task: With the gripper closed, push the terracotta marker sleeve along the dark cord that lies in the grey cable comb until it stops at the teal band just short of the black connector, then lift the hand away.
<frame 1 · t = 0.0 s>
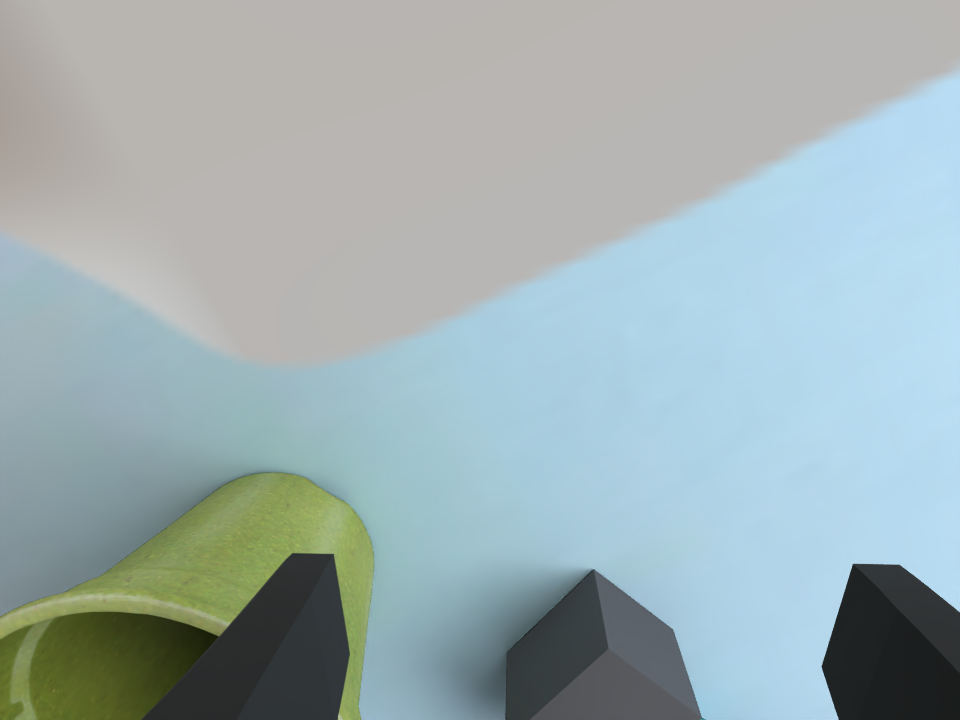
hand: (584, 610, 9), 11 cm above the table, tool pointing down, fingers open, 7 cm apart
plant pot: (289, 548, 22), on the table
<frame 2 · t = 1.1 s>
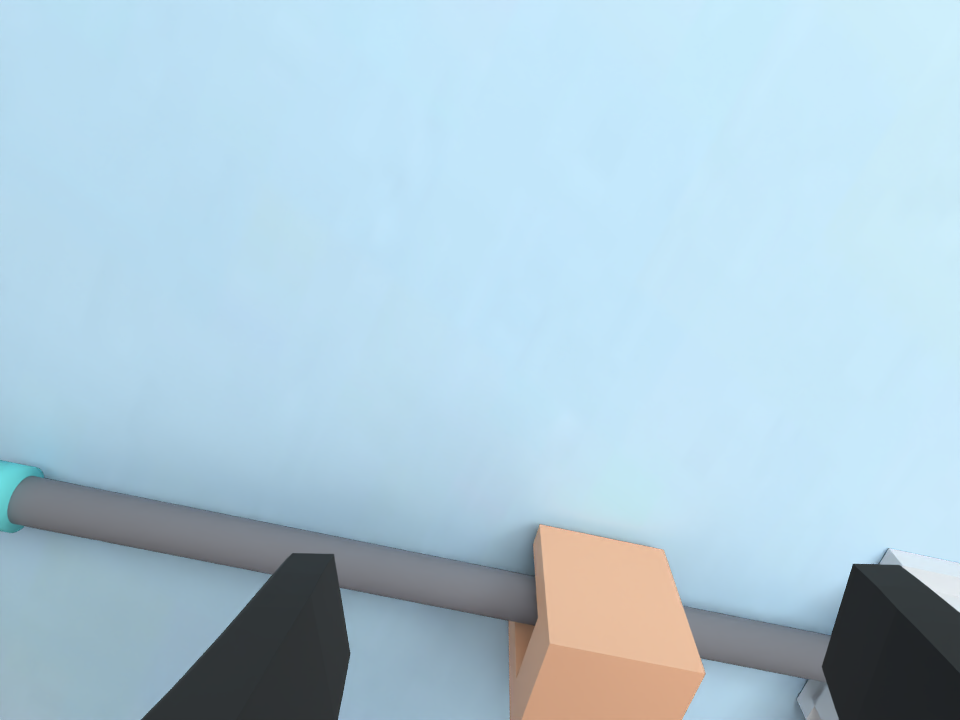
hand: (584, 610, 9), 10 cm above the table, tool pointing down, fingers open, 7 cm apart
sleeve: (592, 642, 19), point 3 cm above the table, slide at -9.0 cm
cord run: (310, 522, 21), on the table
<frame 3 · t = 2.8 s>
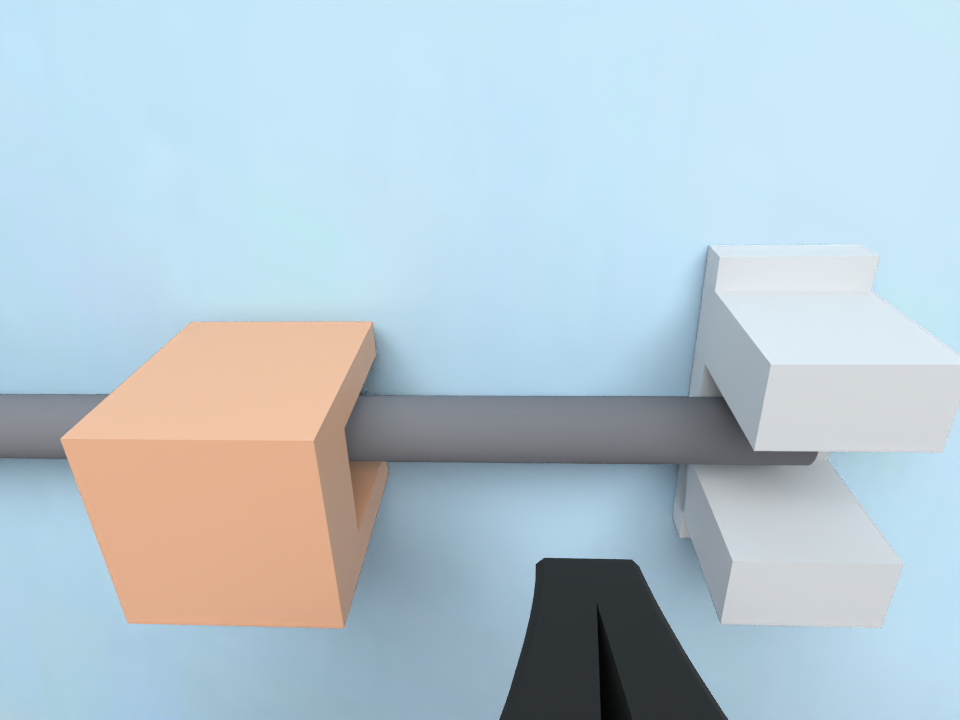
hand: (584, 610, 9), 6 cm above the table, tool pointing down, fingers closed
sleeve: (260, 460, 13), point 3 cm above the table, slide at -9.0 cm
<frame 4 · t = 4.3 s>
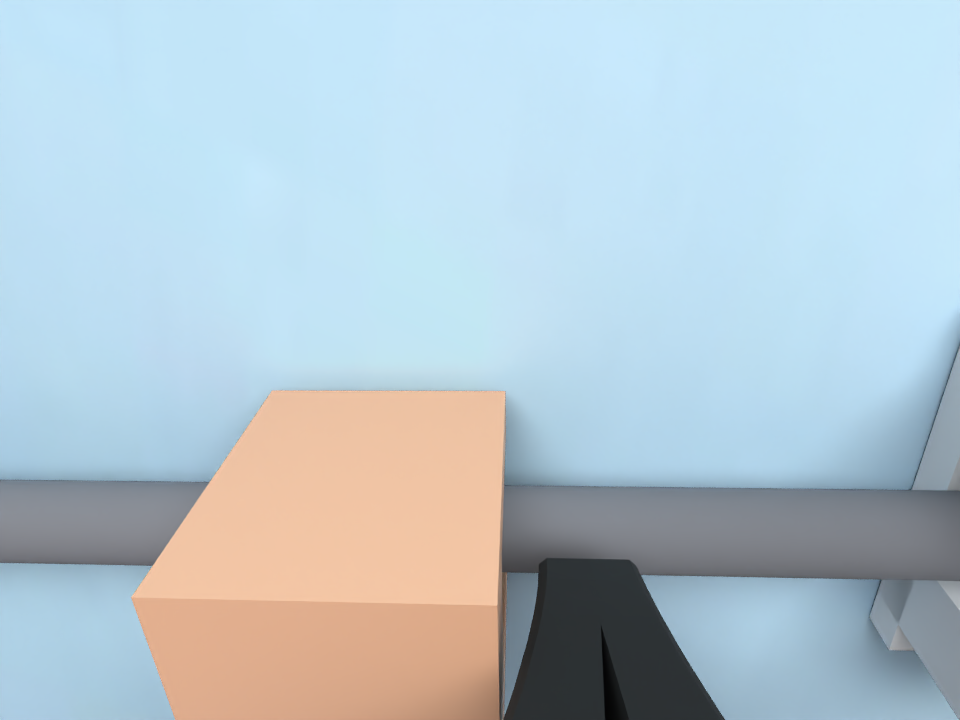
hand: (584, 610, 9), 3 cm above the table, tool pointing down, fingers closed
sleeve: (372, 579, 10), point 3 cm above the table, slide at -8.6 cm, touching gripper
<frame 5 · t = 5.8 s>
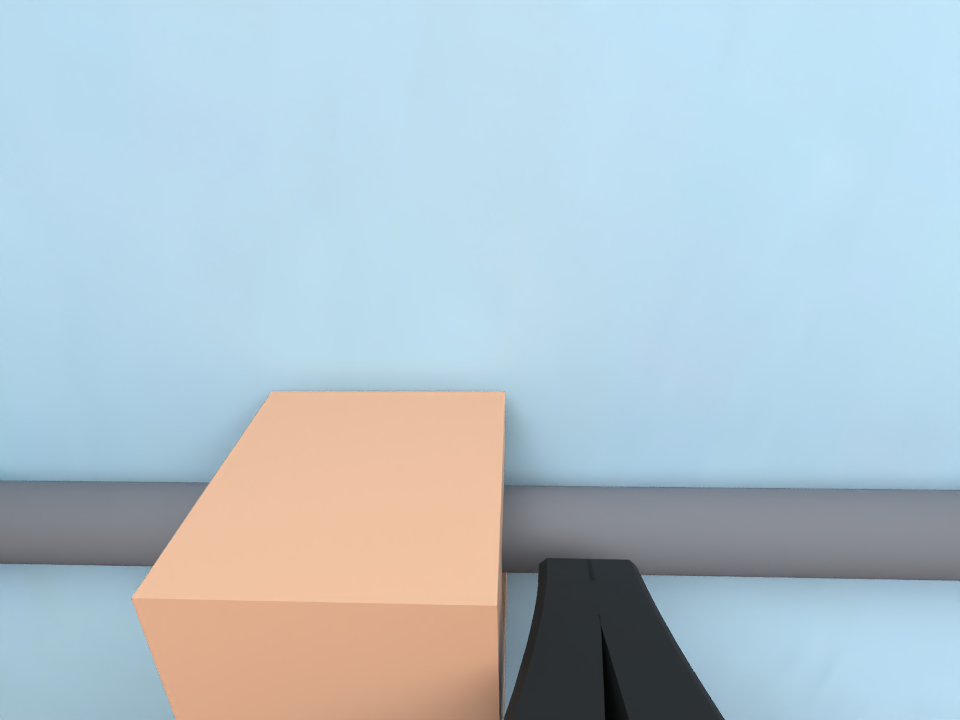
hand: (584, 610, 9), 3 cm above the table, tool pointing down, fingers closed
sleeve: (372, 579, 10), point 3 cm above the table, slide at 0.0 cm, touching gripper
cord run: (397, 473, 12), on the table
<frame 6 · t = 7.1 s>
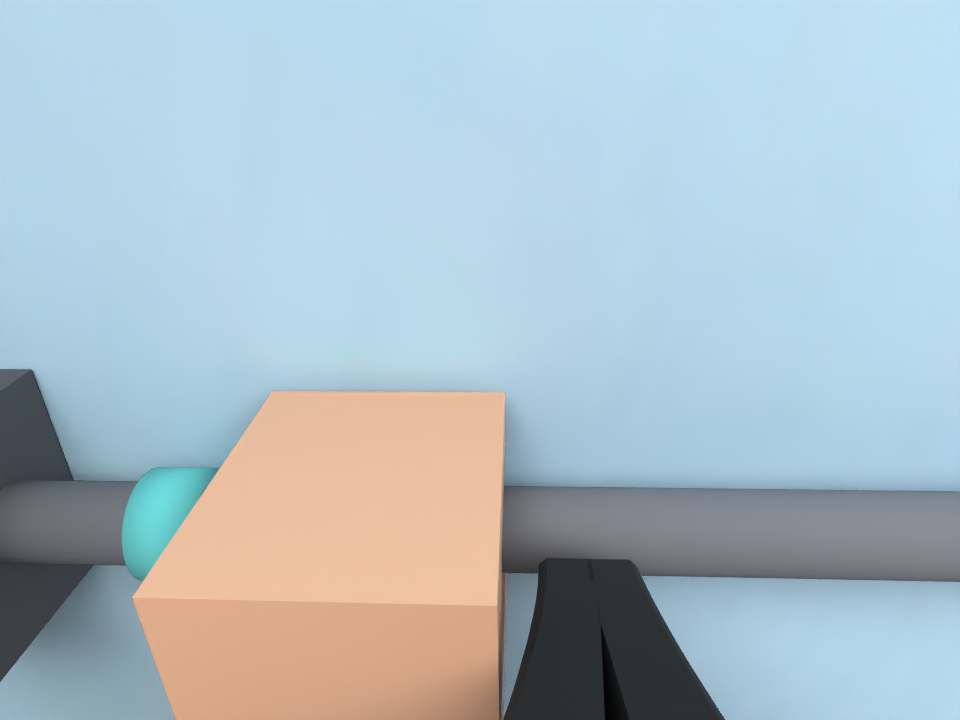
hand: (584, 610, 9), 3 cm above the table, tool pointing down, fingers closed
sleeve: (372, 579, 10), point 3 cm above the table, slide at 5.0 cm, touching gripper
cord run: (667, 476, 12), on the table
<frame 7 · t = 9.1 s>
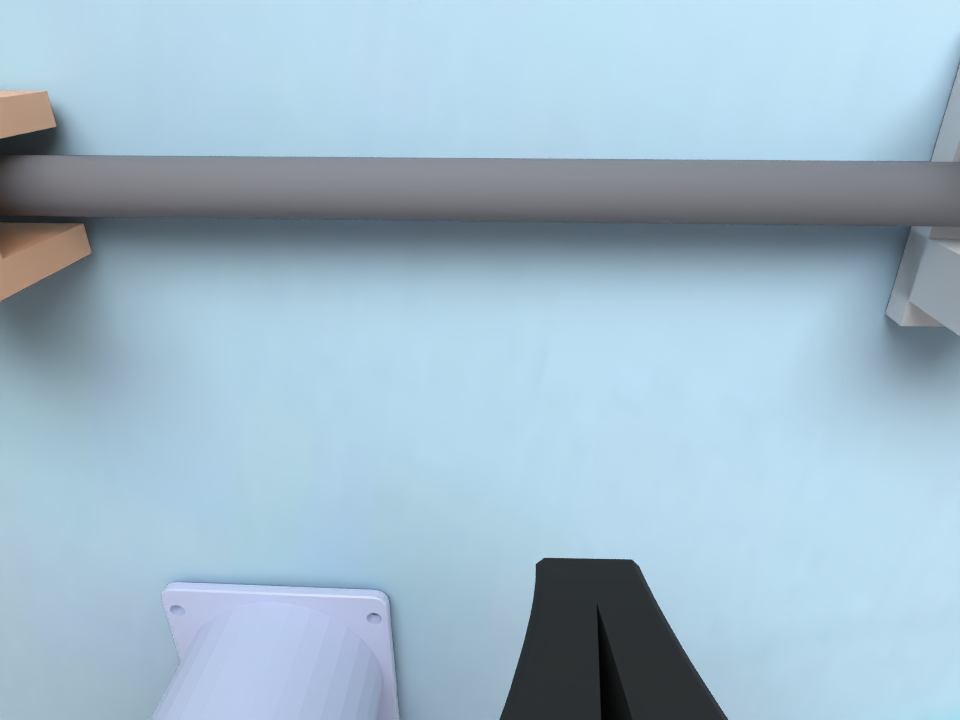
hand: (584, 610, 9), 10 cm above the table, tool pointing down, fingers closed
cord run: (199, 174, 17), on the table
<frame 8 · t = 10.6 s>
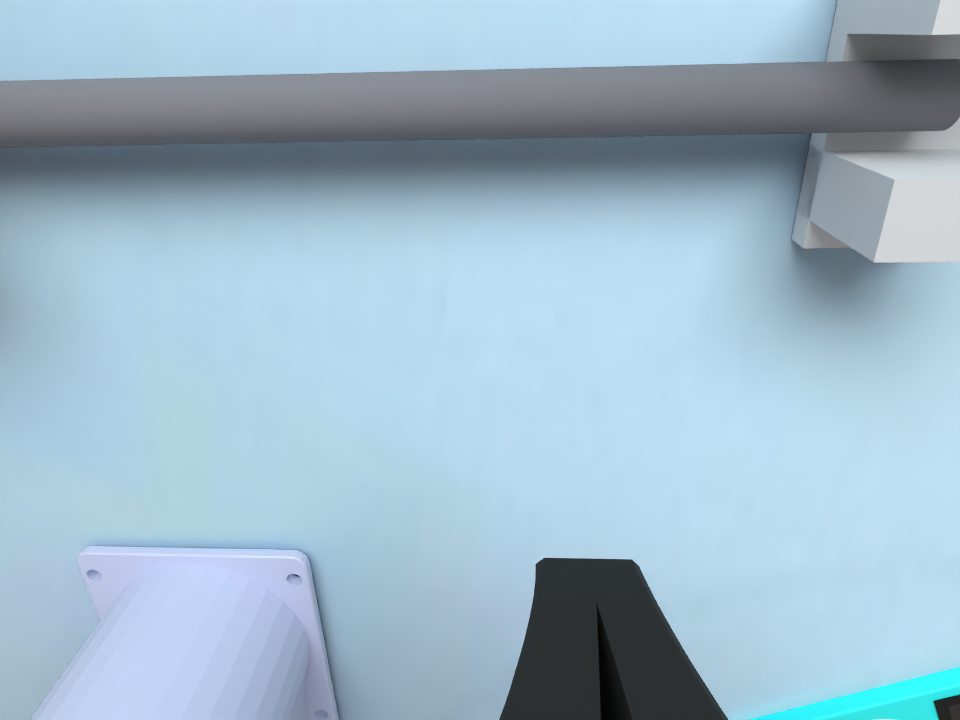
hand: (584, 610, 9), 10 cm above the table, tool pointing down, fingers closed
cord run: (70, 107, 16), on the table
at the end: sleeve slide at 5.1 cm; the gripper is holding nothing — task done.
